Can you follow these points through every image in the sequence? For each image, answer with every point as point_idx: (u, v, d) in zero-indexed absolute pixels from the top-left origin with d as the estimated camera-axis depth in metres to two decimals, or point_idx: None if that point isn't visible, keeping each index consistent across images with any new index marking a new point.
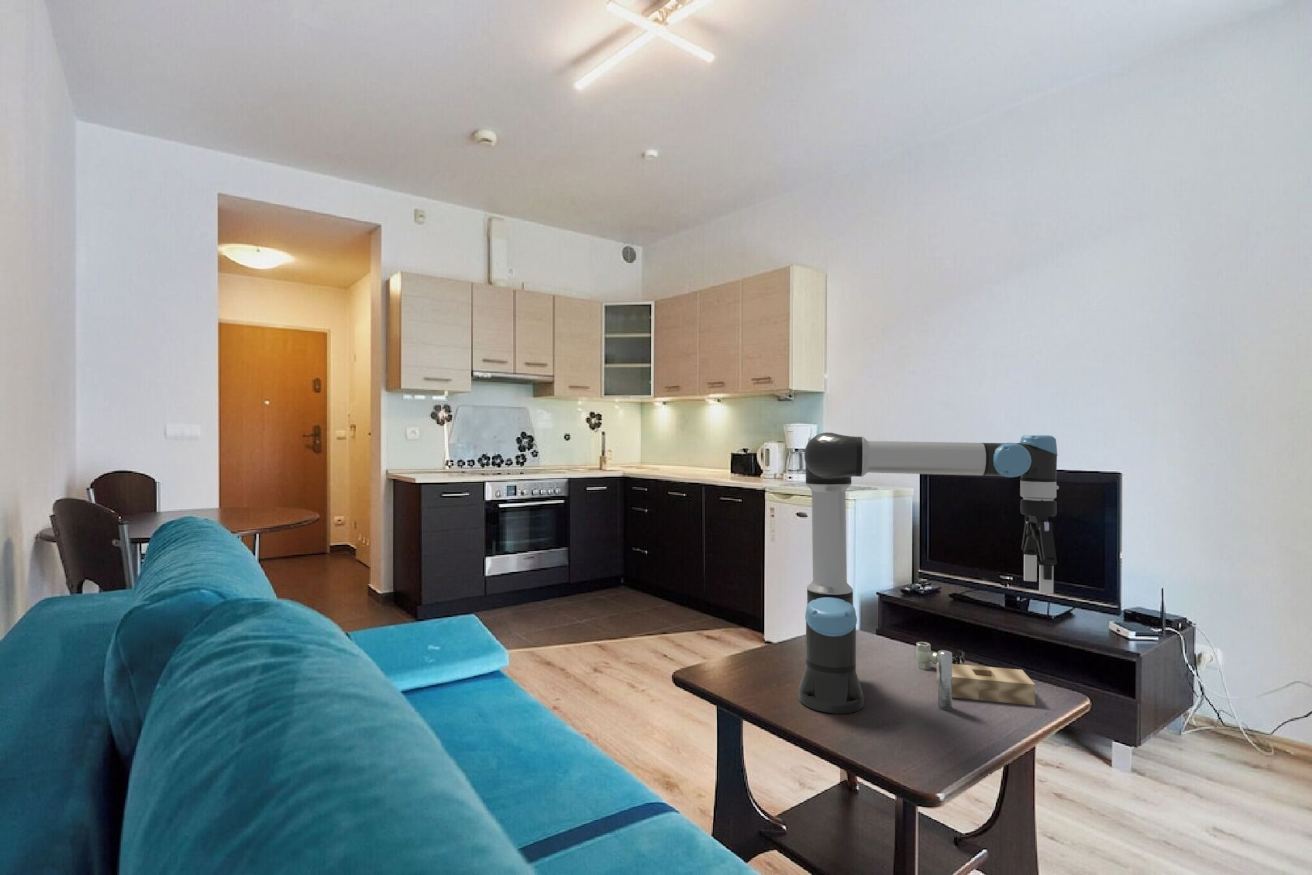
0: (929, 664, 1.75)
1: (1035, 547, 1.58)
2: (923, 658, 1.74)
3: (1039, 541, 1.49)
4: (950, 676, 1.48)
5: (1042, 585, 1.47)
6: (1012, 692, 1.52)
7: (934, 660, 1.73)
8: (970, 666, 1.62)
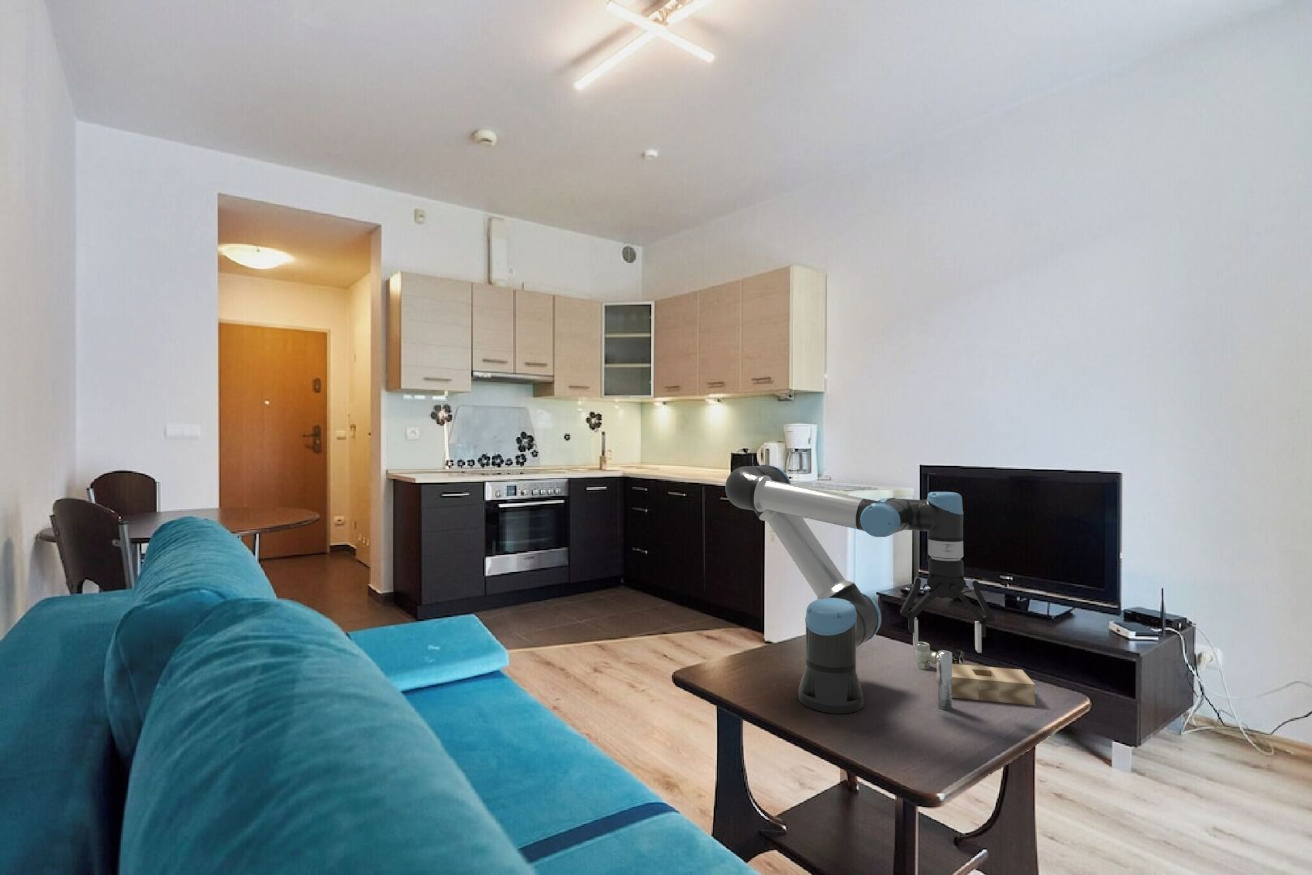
0: (928, 664, 1.75)
1: None
2: (922, 658, 1.74)
3: None
4: (950, 676, 1.48)
5: (913, 637, 1.52)
6: (1012, 692, 1.52)
7: (933, 660, 1.73)
8: (970, 666, 1.62)
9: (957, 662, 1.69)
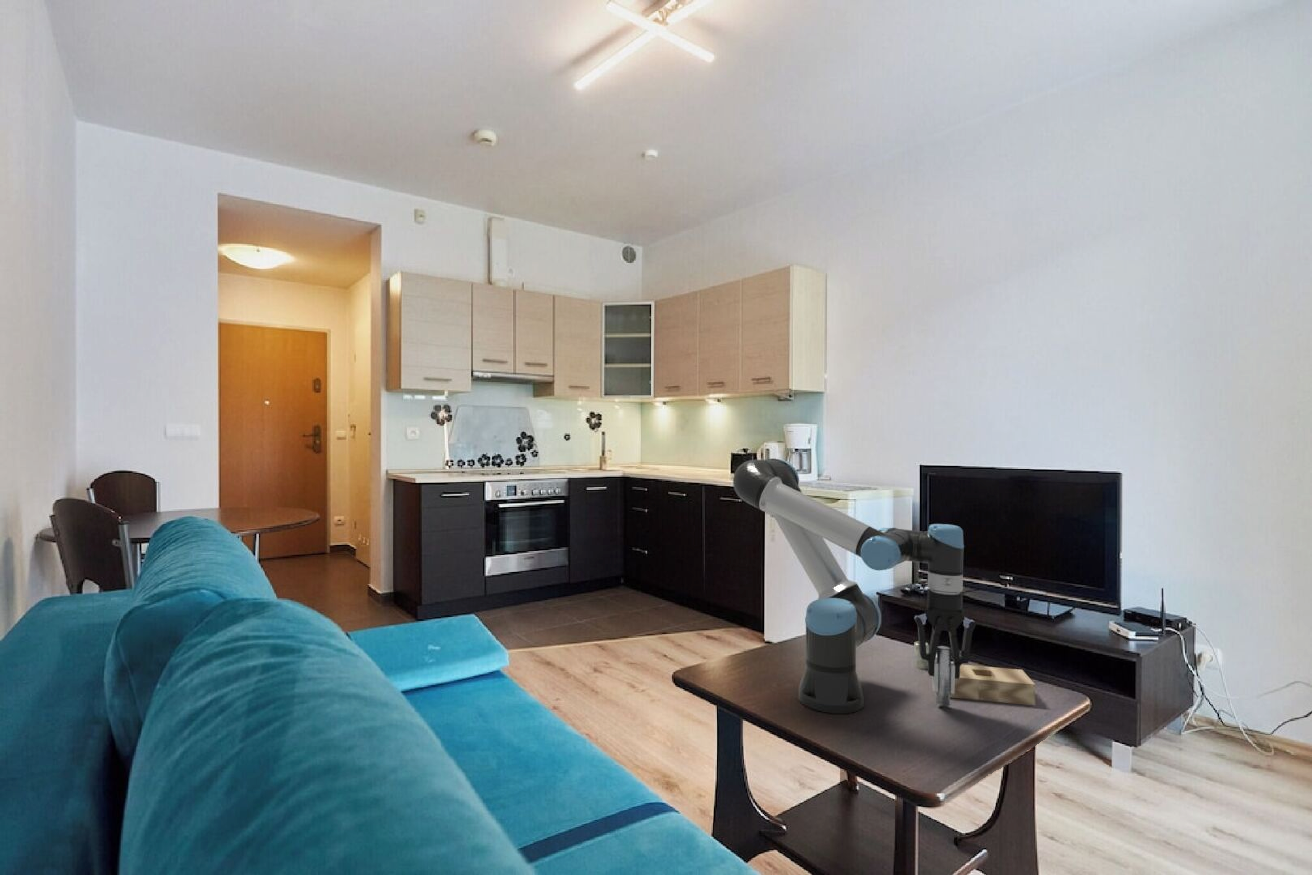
0: (927, 663, 1.75)
1: (952, 652, 1.48)
2: None
3: None
4: (949, 672, 1.48)
5: (932, 680, 1.51)
6: (1012, 692, 1.52)
7: None
8: (970, 666, 1.62)
9: None
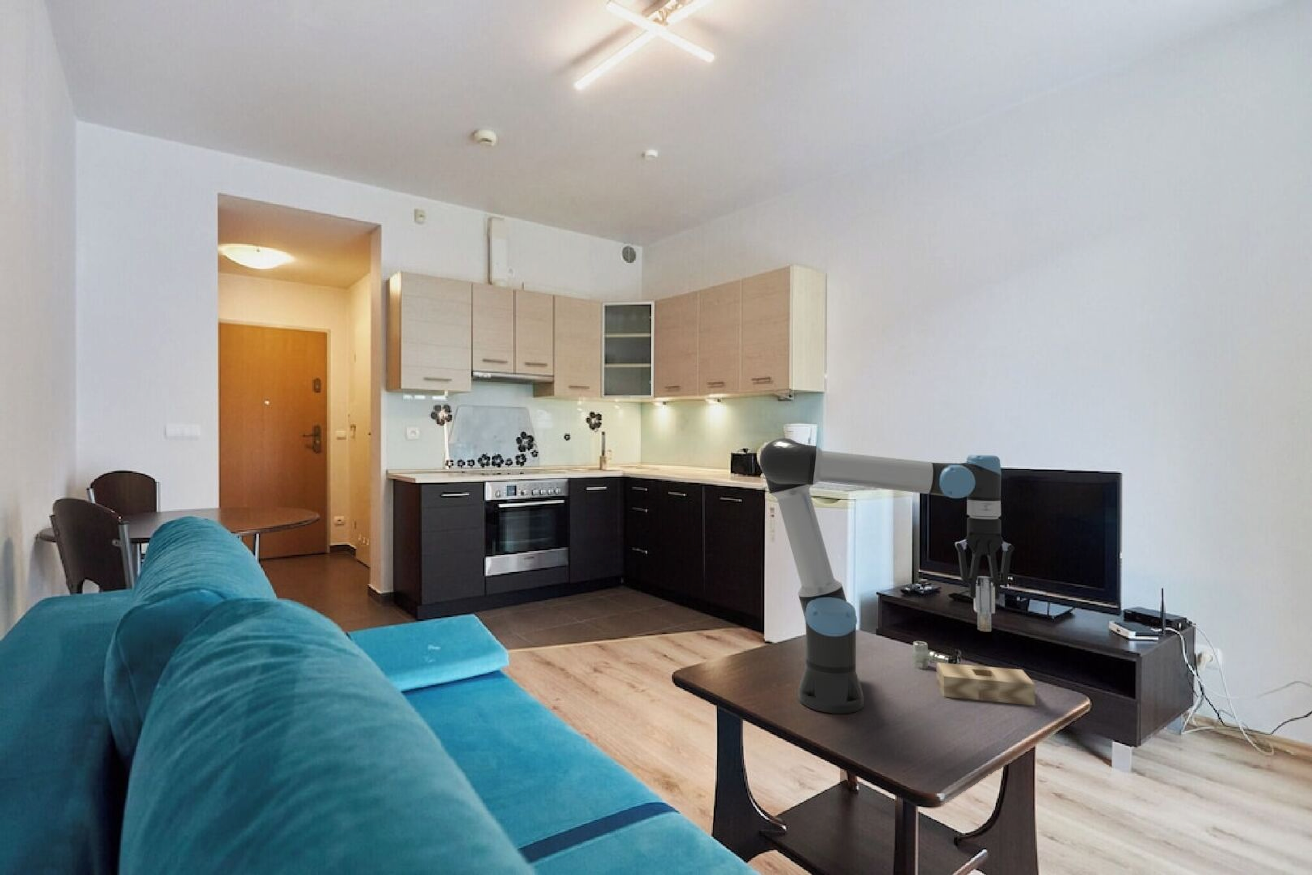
0: (926, 663, 1.75)
1: (992, 574, 1.57)
2: (920, 657, 1.75)
3: (972, 559, 1.59)
4: (989, 599, 1.56)
5: (974, 602, 1.59)
6: (1012, 692, 1.52)
7: (931, 659, 1.74)
8: (970, 666, 1.62)
9: (955, 661, 1.69)
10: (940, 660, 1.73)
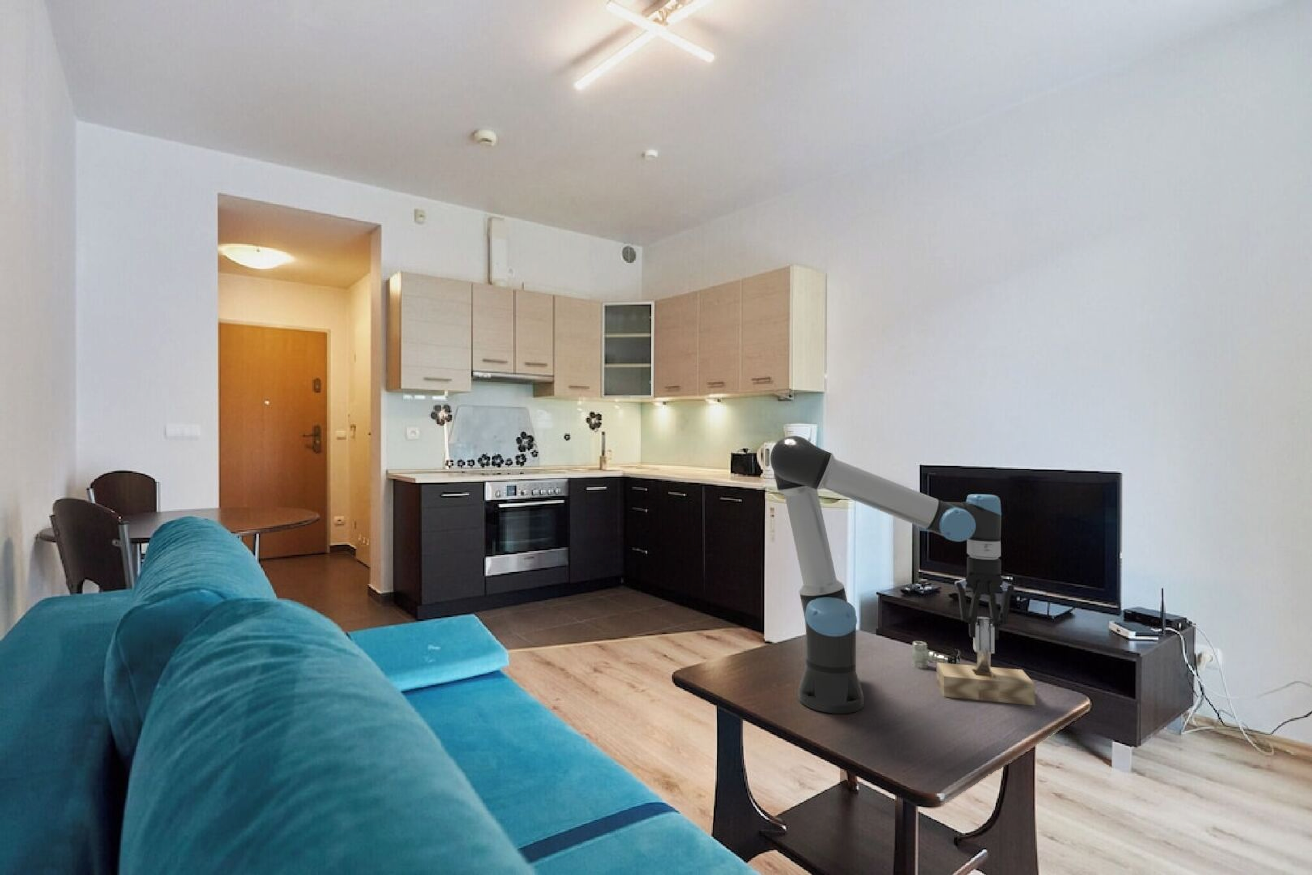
0: (925, 663, 1.75)
1: (992, 614, 1.57)
2: (919, 657, 1.75)
3: None
4: (989, 640, 1.57)
5: (973, 642, 1.59)
6: (1012, 692, 1.52)
7: (930, 659, 1.74)
8: (970, 666, 1.62)
9: (955, 661, 1.70)
10: (939, 660, 1.73)
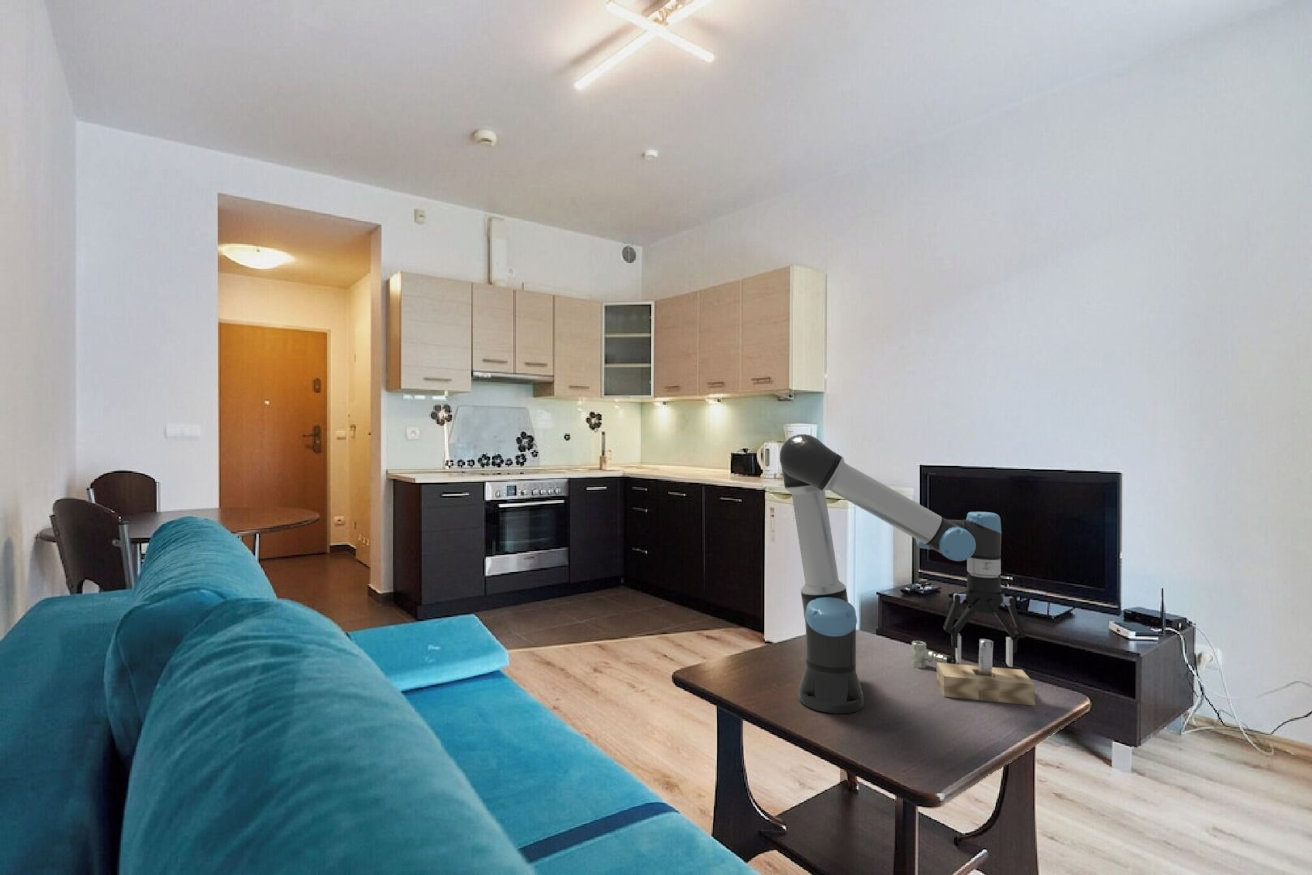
0: (925, 663, 1.76)
1: (1006, 629, 1.56)
2: (919, 657, 1.75)
3: None
4: (990, 663, 1.56)
5: (956, 652, 1.60)
6: (1012, 692, 1.52)
7: (930, 659, 1.74)
8: (970, 666, 1.62)
9: (954, 661, 1.70)
10: (939, 660, 1.73)
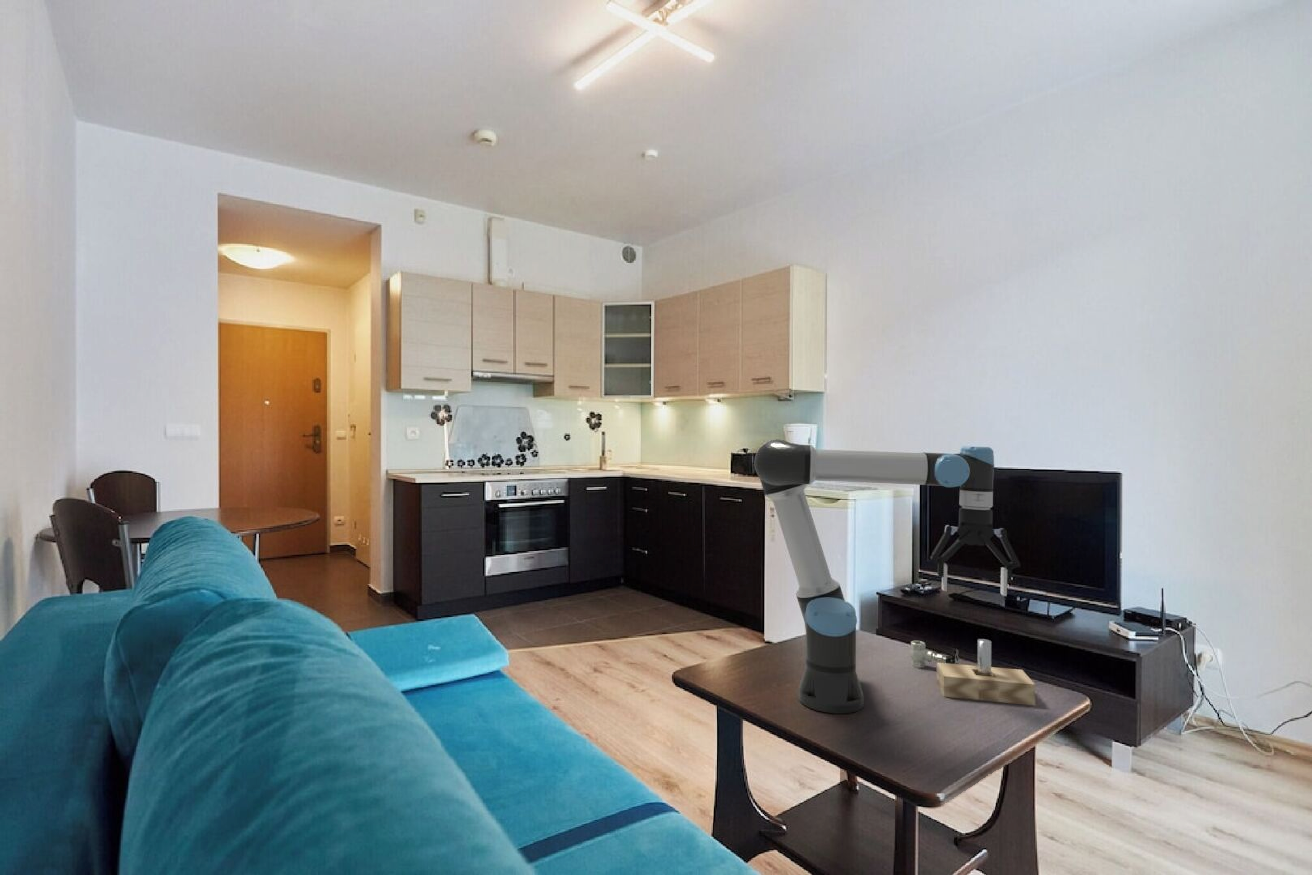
0: (924, 662, 1.76)
1: (1000, 560, 1.57)
2: (918, 657, 1.75)
3: (953, 544, 1.61)
4: (989, 663, 1.57)
5: (942, 581, 1.62)
6: (1012, 692, 1.52)
7: (929, 659, 1.74)
8: (970, 666, 1.62)
9: (953, 660, 1.70)
10: (938, 659, 1.73)
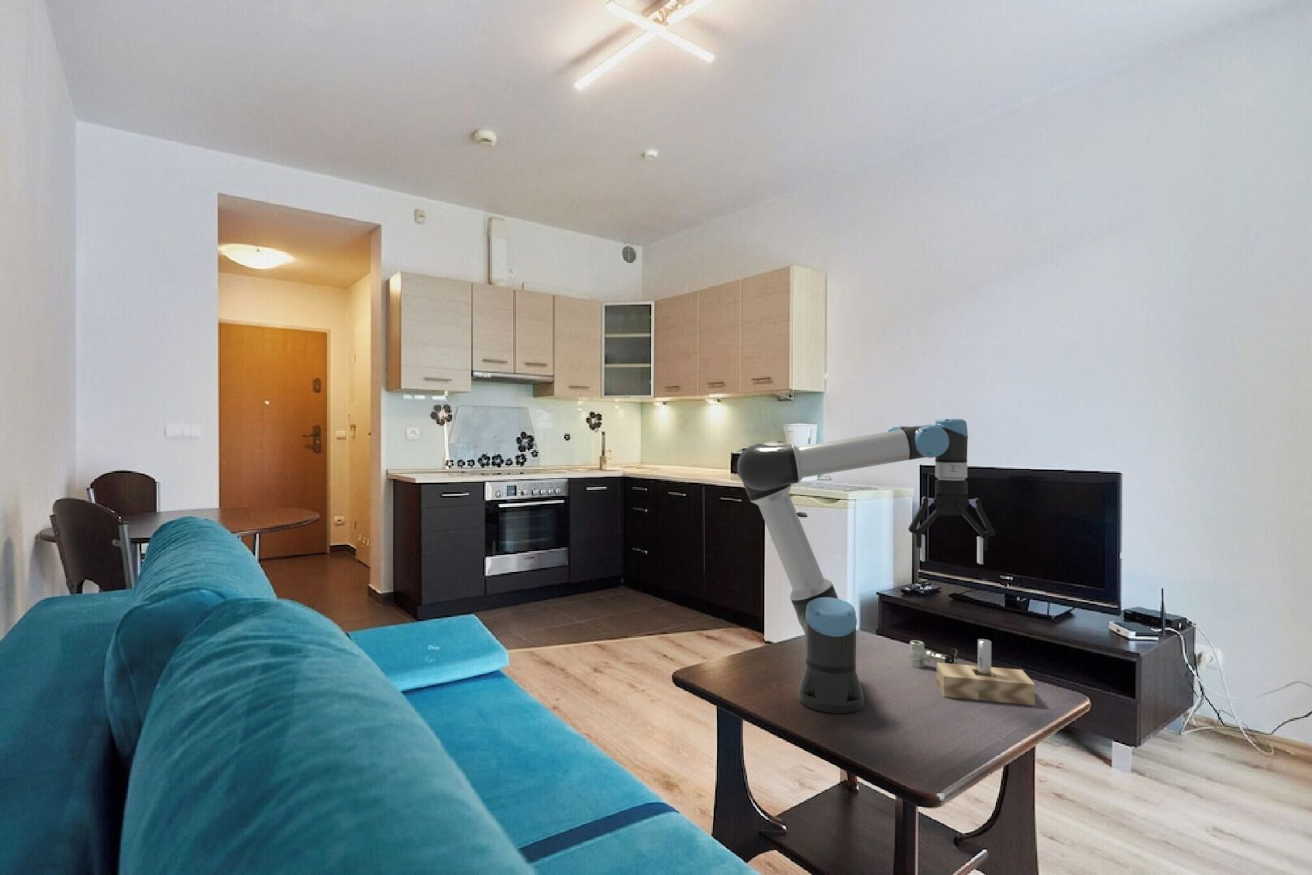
0: (923, 662, 1.76)
1: (976, 529, 1.60)
2: (917, 656, 1.75)
3: (930, 515, 1.65)
4: (989, 663, 1.56)
5: (920, 552, 1.65)
6: (1012, 692, 1.52)
7: (928, 658, 1.74)
8: (970, 666, 1.62)
9: (952, 660, 1.70)
10: (937, 659, 1.74)
